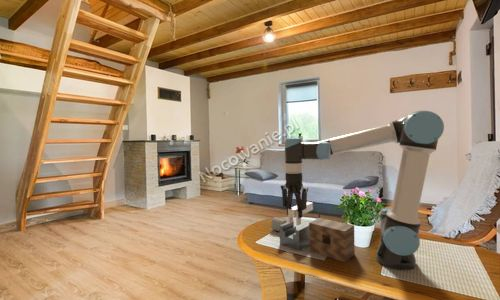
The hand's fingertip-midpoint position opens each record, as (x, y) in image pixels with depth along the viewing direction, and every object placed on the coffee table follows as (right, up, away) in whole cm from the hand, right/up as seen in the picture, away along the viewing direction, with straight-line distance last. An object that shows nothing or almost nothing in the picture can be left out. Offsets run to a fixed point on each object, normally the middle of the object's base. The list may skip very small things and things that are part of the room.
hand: (294, 223), depth 117 cm
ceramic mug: (-2, -15, +39) cm, 42 cm away
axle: (+4, +4, +4) cm, 7 cm away
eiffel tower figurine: (+21, -15, +33) cm, 42 cm away
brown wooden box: (+19, -16, +7) cm, 26 cm away
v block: (+3, -16, +18) cm, 24 cm away
